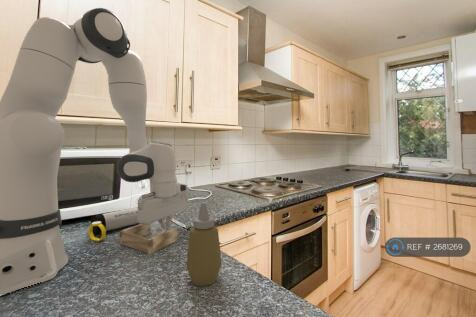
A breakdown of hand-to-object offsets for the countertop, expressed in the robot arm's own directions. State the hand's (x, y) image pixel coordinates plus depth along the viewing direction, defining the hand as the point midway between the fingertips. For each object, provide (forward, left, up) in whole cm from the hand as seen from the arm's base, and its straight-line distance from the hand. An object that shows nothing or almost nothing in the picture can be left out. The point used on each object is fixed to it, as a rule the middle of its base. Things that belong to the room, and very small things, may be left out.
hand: (166, 228), depth 80 cm
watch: (-14, +16, -2) cm, 22 cm away
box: (-6, 0, -2) cm, 7 cm away
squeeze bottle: (-14, -28, -2) cm, 31 cm away
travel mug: (+7, +18, +1) cm, 19 cm away
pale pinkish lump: (-3, 0, -3) cm, 4 cm away
